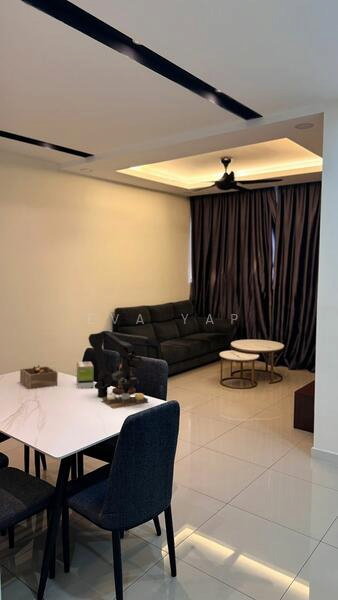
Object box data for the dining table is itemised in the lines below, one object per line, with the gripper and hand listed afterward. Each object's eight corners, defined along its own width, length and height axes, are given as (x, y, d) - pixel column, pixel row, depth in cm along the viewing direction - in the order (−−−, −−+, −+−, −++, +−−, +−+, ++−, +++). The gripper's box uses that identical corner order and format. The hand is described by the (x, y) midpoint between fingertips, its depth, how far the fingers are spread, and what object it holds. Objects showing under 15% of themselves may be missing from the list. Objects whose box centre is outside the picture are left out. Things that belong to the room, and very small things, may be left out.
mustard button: (133, 400, 241) (133, 393, 240) (140, 399, 244) (140, 392, 243) (138, 402, 237) (138, 395, 237) (145, 401, 240) (145, 394, 239)
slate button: (119, 400, 240) (119, 393, 240) (126, 399, 243) (127, 392, 242) (123, 402, 236) (124, 395, 236) (131, 401, 239) (131, 394, 239)
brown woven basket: (108, 395, 255) (109, 363, 254) (117, 389, 270) (118, 359, 269) (131, 398, 252) (132, 365, 251) (138, 391, 266) (139, 360, 265)
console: (100, 403, 239) (100, 397, 239) (134, 397, 252) (134, 392, 252) (113, 410, 226) (113, 404, 226) (148, 404, 239) (149, 398, 239)
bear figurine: (33, 387, 268) (34, 369, 267) (27, 382, 280) (27, 364, 280) (54, 385, 276) (54, 367, 275) (47, 380, 288) (47, 363, 288)
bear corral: (20, 382, 280) (20, 369, 279) (47, 379, 291) (47, 366, 290) (29, 389, 264) (29, 375, 263) (57, 385, 275) (57, 372, 274)
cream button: (105, 401, 239) (105, 393, 239) (112, 399, 242) (113, 392, 242) (109, 403, 235) (109, 395, 235) (116, 401, 238) (117, 394, 238)
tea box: (76, 383, 283) (76, 361, 282) (90, 382, 286) (91, 361, 285) (78, 388, 269) (78, 366, 268) (93, 388, 272) (94, 365, 271)
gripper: (106, 364, 241) (105, 391, 242) (122, 370, 226) (121, 399, 227) (123, 362, 248) (122, 388, 248) (139, 368, 233) (138, 396, 233)
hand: (125, 393), depth 239 cm, fingers closed
